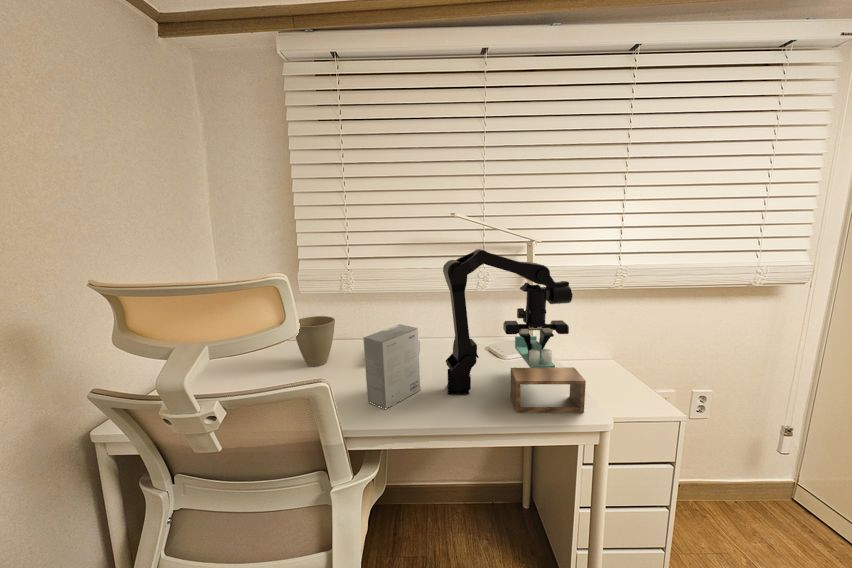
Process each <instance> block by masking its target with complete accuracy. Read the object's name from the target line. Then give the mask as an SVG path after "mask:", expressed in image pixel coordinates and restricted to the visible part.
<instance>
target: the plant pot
mask: <svg viewBox="0 0 852 568" xmlns="http://www.w3.org/2000/svg"><path fill="white" fill-rule="evenodd" d="M335 322H336V318H334V317H331V316H325V315H315V316H308V317H301V318H299V323H300V329H299V333H298V335H297V336H296V337H295V339H296V343H297V346H298V349H299V351H300V354H301V356H302V358H303V360H304V363H305V364H306V366H308V367H320V365H321V366H324V365H325V364H327V362H328V360H329V356H330V353H331V349H332V346H333V340H334V334H335V326H336V325H335V324H336V323H335ZM323 364H324V365H323Z"/></svg>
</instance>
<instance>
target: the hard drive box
mask: <svg viewBox="0 0 852 568" xmlns="http://www.w3.org/2000/svg"><path fill="white" fill-rule="evenodd" d="M362 339H363V352H364V353H363V354H364V367H365V369H364V370H365V381H366V382H365V383H366V396H367V397H366V398H367V403H368V402H371V403H373V404H375V405H377V406H380V407H382V408H384V409H383V410H386V409H385V408H387V409H389V408H390V406H391V407H393V406H395V405H396V404H398V403H399V401H400V402H401V401H403V400H405V399H407V398H409V397H410V396H412V394H413V395H415V394H416V393H417V392H419V391H421V378H420V377H421V375H420V373H421V371H420V353H419V348H418V341H419V328H417V327H414V326H410V325H406V324H397V325H394V326H390V327H388V328H386V329H383V330H380V331H377V332H374V333H372V334H369V335H366V336H363V337H362ZM397 402H398V403H397ZM373 404H372V405H373ZM394 404H395V405H394ZM375 405H374V406H375ZM392 405H393V406H392ZM377 406H376V407H377ZM380 407H379V408H380ZM388 407H389V408H388ZM382 408H381V409H382Z"/></svg>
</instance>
